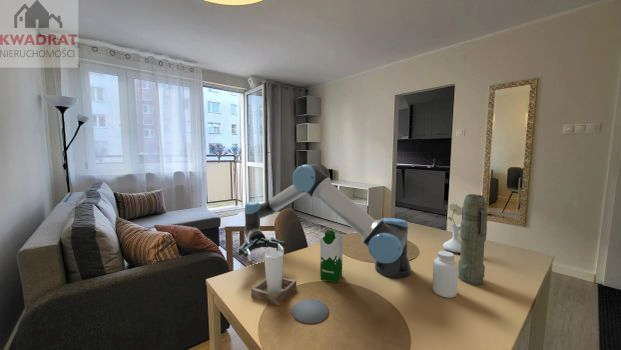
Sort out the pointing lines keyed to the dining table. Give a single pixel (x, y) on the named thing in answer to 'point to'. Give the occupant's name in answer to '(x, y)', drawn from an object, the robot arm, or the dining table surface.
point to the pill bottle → (445, 274)
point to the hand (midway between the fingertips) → (267, 255)
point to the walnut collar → (270, 297)
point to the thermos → (473, 239)
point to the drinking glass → (274, 271)
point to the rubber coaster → (310, 311)
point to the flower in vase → (454, 231)
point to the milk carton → (331, 256)
